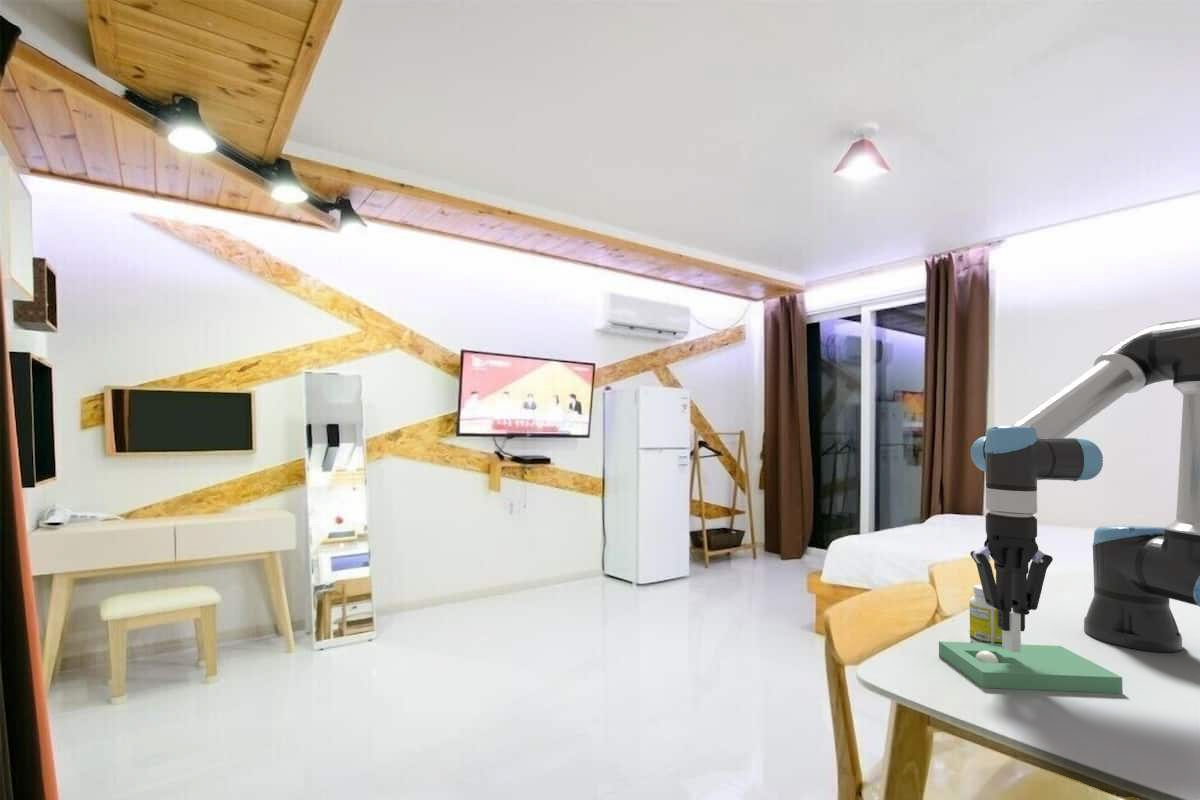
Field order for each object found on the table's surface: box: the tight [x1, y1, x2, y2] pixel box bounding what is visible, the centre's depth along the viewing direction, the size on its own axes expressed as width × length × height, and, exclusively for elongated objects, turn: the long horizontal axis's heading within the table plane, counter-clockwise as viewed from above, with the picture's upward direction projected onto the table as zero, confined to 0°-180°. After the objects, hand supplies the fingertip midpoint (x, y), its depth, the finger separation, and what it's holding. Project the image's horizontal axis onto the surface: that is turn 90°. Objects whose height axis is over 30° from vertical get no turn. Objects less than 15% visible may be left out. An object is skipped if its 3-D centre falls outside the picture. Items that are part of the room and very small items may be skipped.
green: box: [938, 641, 1123, 694], centre depth 105 cm, size 22×14×2 cm, turn 87°
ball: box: [975, 651, 999, 663], centre depth 106 cm, size 4×4×4 cm
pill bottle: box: [969, 584, 1002, 644], centre depth 119 cm, size 6×6×11 cm
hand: (1011, 649), depth 106 cm, fingers closed
